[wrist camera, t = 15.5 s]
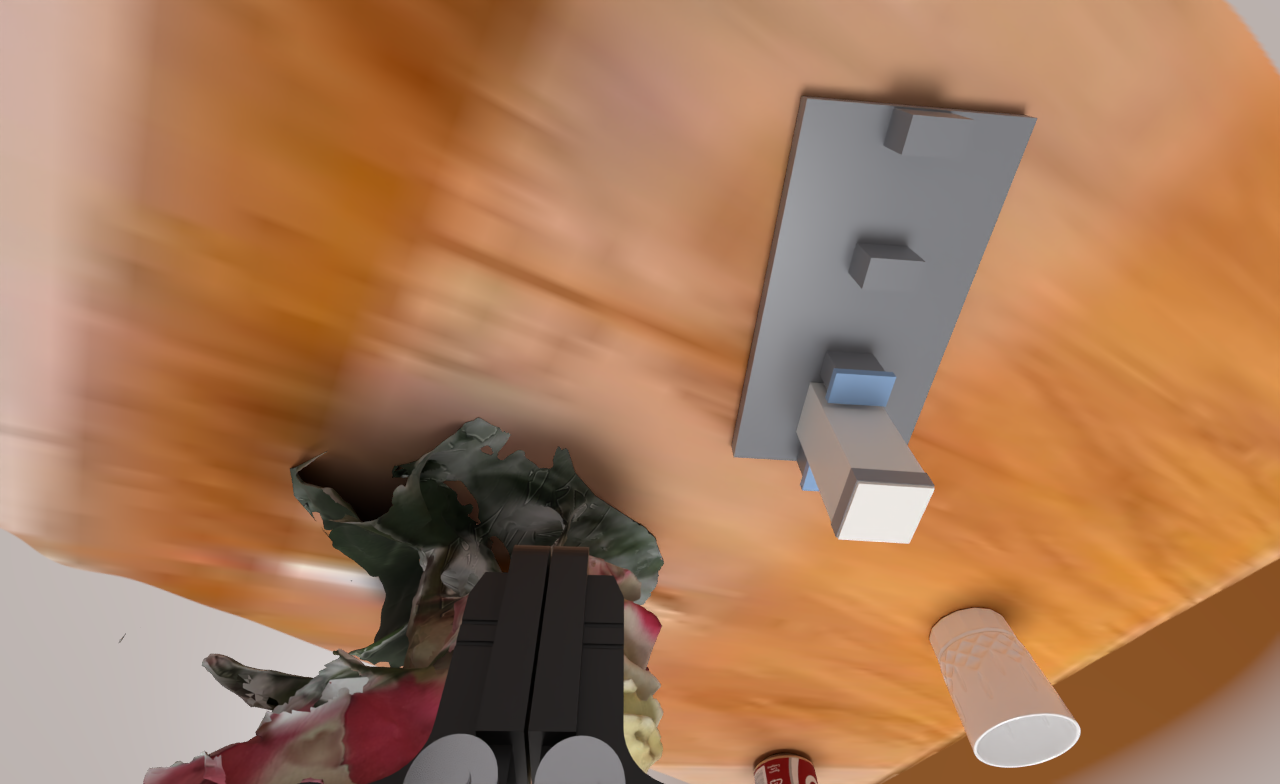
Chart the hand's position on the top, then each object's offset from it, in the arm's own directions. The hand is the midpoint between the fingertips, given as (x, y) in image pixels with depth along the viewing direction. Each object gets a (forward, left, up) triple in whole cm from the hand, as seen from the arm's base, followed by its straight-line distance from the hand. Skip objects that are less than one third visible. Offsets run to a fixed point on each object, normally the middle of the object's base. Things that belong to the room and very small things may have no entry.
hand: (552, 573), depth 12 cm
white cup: (+35, +35, -26) cm, 56 cm away
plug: (+11, +16, -25) cm, 32 cm away
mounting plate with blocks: (+4, +16, -26) cm, 31 cm away
